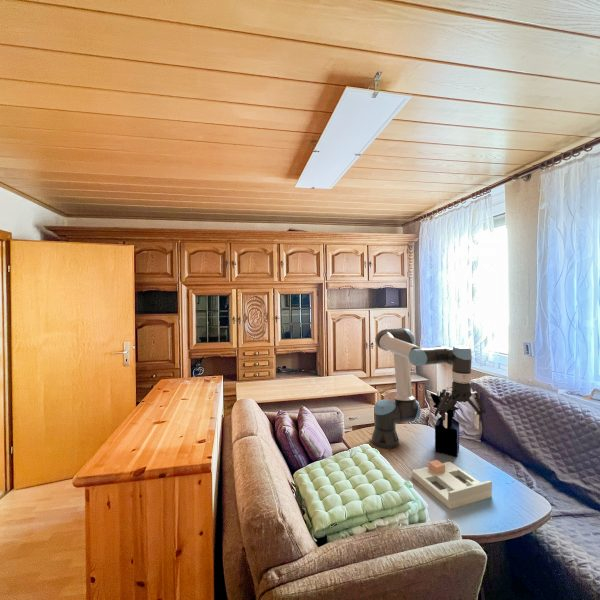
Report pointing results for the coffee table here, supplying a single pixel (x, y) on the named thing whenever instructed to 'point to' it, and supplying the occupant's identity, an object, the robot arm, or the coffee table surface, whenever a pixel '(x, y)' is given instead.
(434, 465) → the block
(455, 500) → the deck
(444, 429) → the vase
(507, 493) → the coffee table surface
